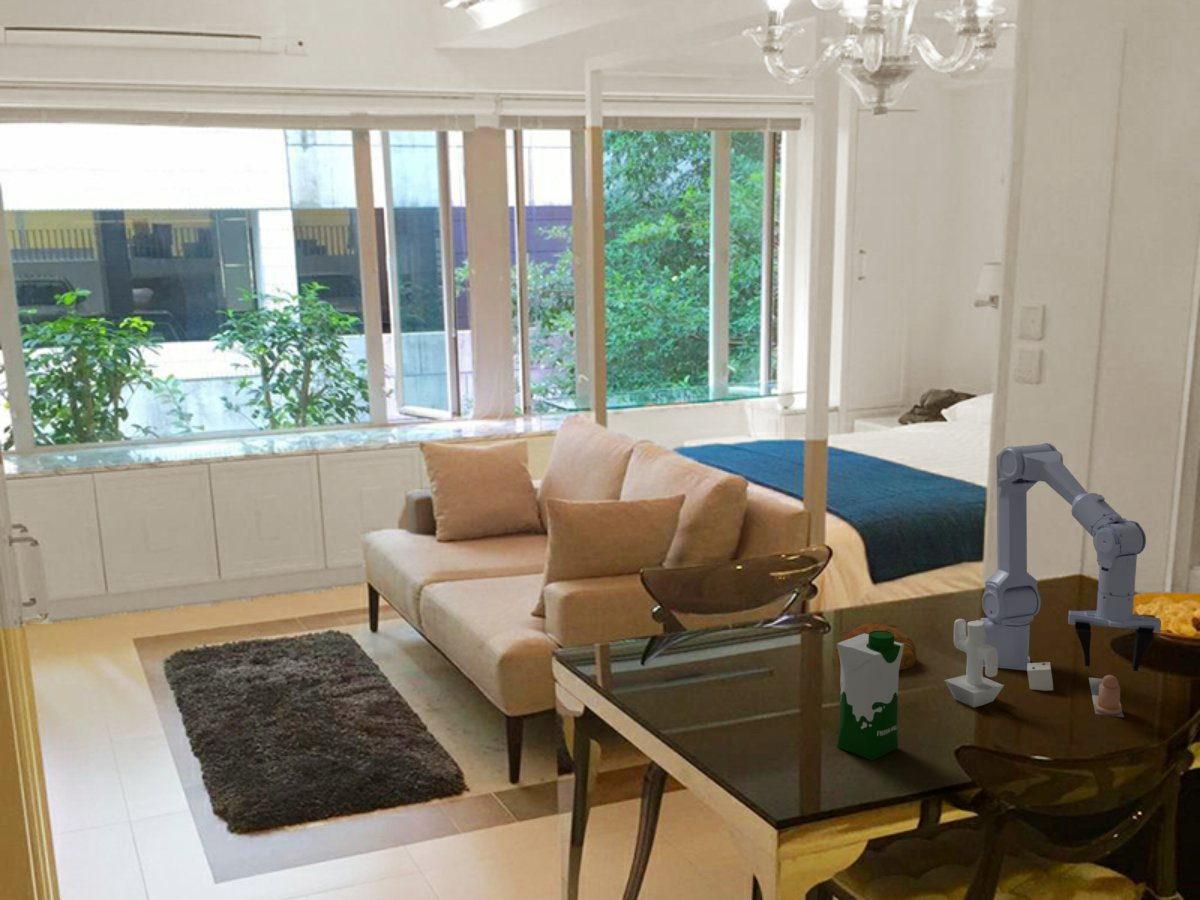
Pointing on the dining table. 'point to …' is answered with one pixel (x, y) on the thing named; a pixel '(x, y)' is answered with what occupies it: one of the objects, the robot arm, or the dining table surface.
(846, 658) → the milk carton
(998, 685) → the figurine
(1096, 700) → the board
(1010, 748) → the dining table surface
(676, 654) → the dining table surface
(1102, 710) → the pawn
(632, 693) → the dining table surface
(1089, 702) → the dining table surface
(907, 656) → the croissant
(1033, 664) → the die
